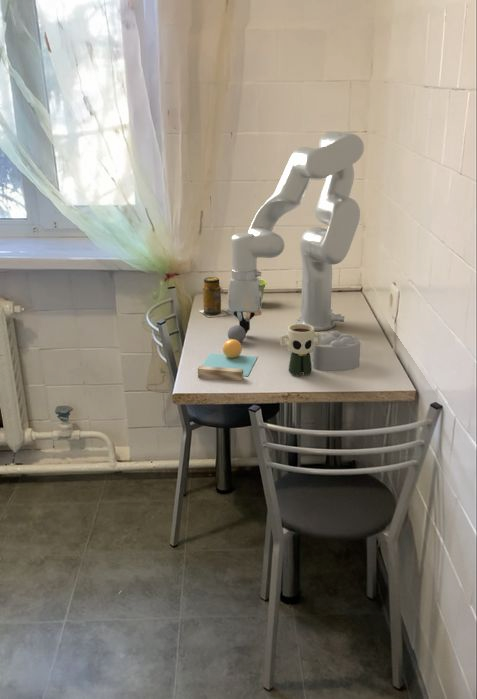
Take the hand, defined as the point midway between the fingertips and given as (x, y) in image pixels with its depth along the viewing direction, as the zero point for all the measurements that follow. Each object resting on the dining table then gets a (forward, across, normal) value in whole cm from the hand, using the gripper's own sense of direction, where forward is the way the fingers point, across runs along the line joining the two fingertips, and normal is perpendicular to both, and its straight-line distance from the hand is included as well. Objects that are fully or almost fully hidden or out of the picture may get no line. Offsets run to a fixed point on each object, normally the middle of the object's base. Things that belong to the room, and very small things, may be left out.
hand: (244, 332), depth 206 cm
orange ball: (-1, 0, +18) cm, 18 cm away
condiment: (+2, +16, -21) cm, 26 cm away
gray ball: (-1, +1, +6) cm, 6 cm away
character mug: (+2, -20, +25) cm, 32 cm away
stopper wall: (+2, 0, +32) cm, 32 cm away
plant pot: (+2, +4, -32) cm, 32 cm away
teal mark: (+2, 0, +23) cm, 23 cm away
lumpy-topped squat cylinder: (+2, -30, +17) cm, 34 cm away
